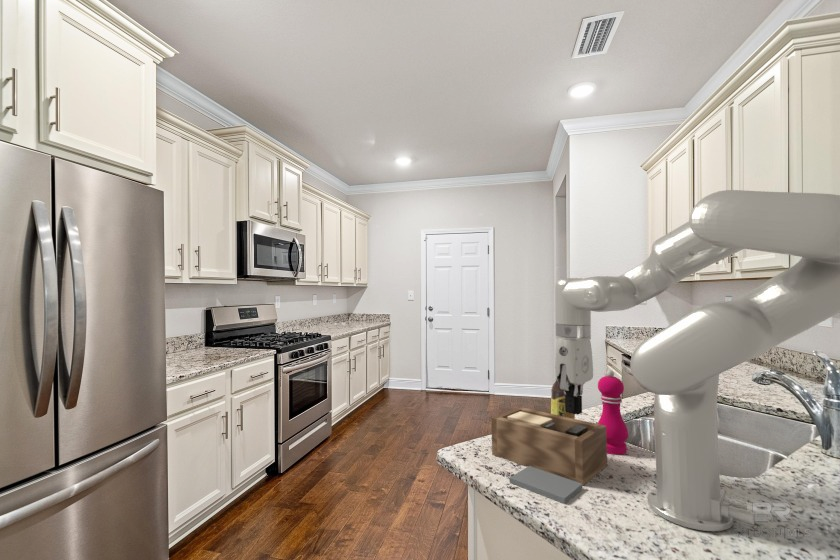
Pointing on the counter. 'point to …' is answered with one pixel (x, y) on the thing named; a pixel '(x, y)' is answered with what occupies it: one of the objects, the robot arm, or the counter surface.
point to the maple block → (530, 419)
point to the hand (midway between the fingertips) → (573, 412)
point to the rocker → (574, 430)
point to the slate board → (546, 484)
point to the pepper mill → (613, 413)
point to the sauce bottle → (559, 401)
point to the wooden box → (551, 445)
